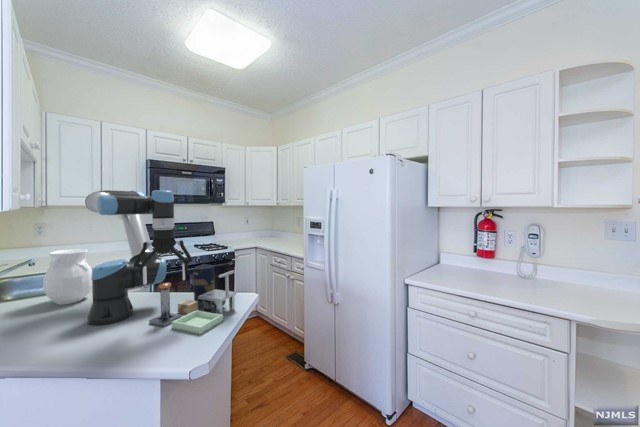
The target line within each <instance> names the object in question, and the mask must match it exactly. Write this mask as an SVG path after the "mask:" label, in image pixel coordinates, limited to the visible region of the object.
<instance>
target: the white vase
mask: <svg viewBox="0 0 640 427" xmlns="http://www.w3.org/2000/svg"><path fill="white" fill-rule="evenodd" d="M88 251H89V250H88V249H86V248H71V249H59V250H55V251H51V252H50V253H49V256H50V258H51V259H50V260H49V264H48V265H49V266H48V268H47V269H46V271H45V274H44V277H43V281H42V286H43V288H42V289H43V292H44V294H45V295H46V296H47V297H48V298H49V299H50V301H52V302H54V304H56V305H60V306H61V305H62V306H64V305H68V304H69V305H70V304H71V305H72V304H75V303H79V302H80V301H82V300H83V299H85V298H86V297H87V296H89V294H90V293H91V291H92V279H91V278H92V270H93V268H92V267H91V266H90V265H89V264H88V261H87V254H88Z"/></svg>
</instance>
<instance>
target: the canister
mask: <svg viewBox="0 0 640 427" xmlns="http://www.w3.org/2000/svg"><path fill="white" fill-rule="evenodd" d="M192 273H193V301H197V303H200V302H201V301H203V300H202V299H198V296H200V295H202V294H205V293H207V292H209V291H212V290H214V289H215V288H216V286H215V284H216V283H215V282H216V281H215V279H216V278H215V266H214V265H212V264H207V263H203V264H200V265H197V266H196V265H195V266H194V268H193V270H192Z"/></svg>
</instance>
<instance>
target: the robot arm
mask: <svg viewBox="0 0 640 427" xmlns="http://www.w3.org/2000/svg"><path fill="white" fill-rule="evenodd" d="M174 201H175V198H174V192H173V191H171V190H164V189H163V190H160V189H158V190H157V189H155V190H153V191H151V195H150V196H149V195H145V193H143V192H141V191H136V190H129V191H128V190H110V189H108V190H106V189H103V190H98V191H94V192H91V193H90V194H88V195H87V196H86V198H85V200H84V204H85V206H86V208H87V209H88V210H89V211H91V212H94V213H97V214H99V215H101V216H117V217H118V219H120V220H122V222H123V226H124V230H125V234H126V238H127V241H128V242H127V243H128V246H129V249H130V254H131V257H130V258H129V260H127V259H121V258H120V259H115V260H109V261H106V262H101V263H99V264H97V265H95V266H94V267H93V268H92V278H91V279H92V290H91V291H92V304H91V307H90V308H89V312H88V315H87V324H88V325H92V326H102V325H110V324H114V323H117V322H118V323H119V322H121V321H123V320H126V319H128V318H129V317H131V316H132V315H134V307H133V304H132V302H131V300H130V298H129V297H130V296H129V290H132V289H136V288H142V287H146V286H151V285H152V286H153V285H156V284H161V283H163V281H164V280H165V279H166V274H167V260H166V259H165V258H164V257H161V256H159V254H158V253H160V254H161V253H169V252H171V253H173V254H174V256H176V257H177V258H178V259H179V260H180V261H182V281H185V280H186V272H188V270H189V263H192V262H193V257H192V256H191V254H190V253H189V250H188V249H187V248H186V246H185V244H184V240H183V239H180V240H176V239H175V236H176V235H175V229H174V228H175V206H174V204H175V202H174ZM145 215H152V217H151V218H152V221H151V222H152V229H153V230H152V242H151V238H150V236H149V232H148V229H147V226H146V221H145V218H144V216H145ZM176 244H177V246H179V247H180V248H181V251H183V253H184V255H185V256H184V255H182V254H181V253H180V252H179V250H177V249H176V247H175V246H176ZM186 258H187V259H186Z"/></svg>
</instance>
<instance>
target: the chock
mask: <svg viewBox="0 0 640 427" xmlns="http://www.w3.org/2000/svg"><path fill="white" fill-rule="evenodd" d="M196 310H198V302H197V301H195V300H190V299H189V300H187V299H186V300H184V301H182V302H181V301H180V302H179V303H177V313H178V312H179V313H180V314H185V313H187V314H189V313H191V312H194V311H196ZM179 313H178V314H179ZM187 314H186V315H187Z"/></svg>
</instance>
